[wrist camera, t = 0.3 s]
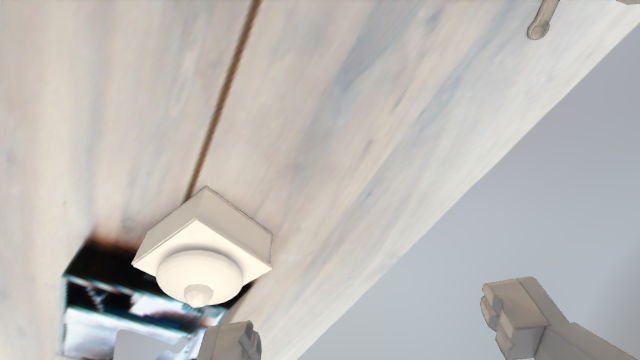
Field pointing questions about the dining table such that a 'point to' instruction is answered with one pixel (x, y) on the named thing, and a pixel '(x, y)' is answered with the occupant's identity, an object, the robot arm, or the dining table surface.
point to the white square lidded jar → (205, 250)
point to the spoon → (542, 20)
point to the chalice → (629, 1)
